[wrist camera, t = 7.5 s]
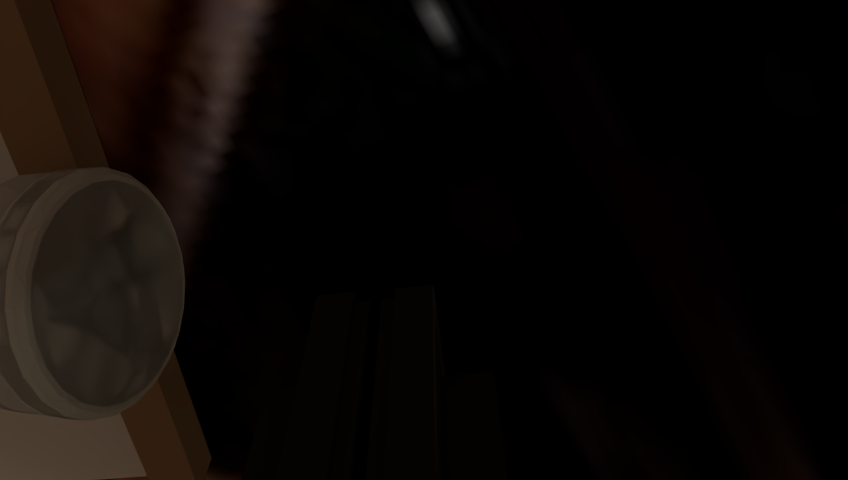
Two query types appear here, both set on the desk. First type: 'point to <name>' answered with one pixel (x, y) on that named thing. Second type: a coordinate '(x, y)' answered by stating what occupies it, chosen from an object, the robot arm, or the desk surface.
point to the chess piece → (85, 292)
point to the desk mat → (46, 153)
